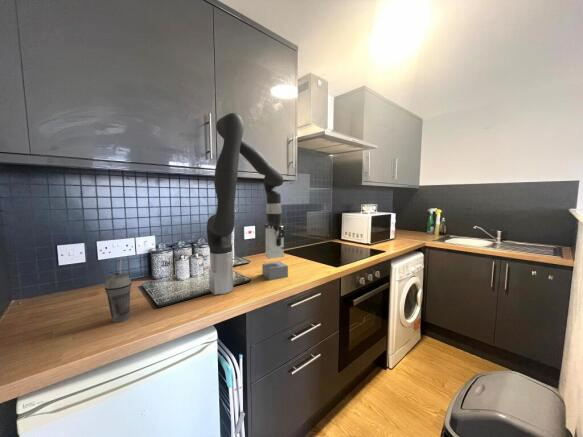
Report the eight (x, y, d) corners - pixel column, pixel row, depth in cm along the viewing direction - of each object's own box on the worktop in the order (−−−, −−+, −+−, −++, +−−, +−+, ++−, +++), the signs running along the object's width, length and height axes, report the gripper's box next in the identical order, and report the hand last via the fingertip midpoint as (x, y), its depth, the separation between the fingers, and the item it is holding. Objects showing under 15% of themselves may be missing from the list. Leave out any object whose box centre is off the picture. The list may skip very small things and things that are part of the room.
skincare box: (268, 259, 116) (268, 229, 114) (265, 256, 121) (264, 228, 120) (284, 257, 119) (284, 228, 118) (280, 254, 125) (279, 227, 123)
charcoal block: (269, 280, 114) (269, 268, 114) (262, 274, 123) (262, 263, 123) (287, 277, 119) (287, 265, 119) (279, 271, 128) (279, 261, 127)
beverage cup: (105, 319, 78) (101, 260, 76) (131, 311, 83) (127, 256, 82) (108, 327, 73) (103, 264, 71) (136, 318, 78) (132, 260, 76)
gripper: (260, 212, 121) (260, 243, 123) (276, 213, 110) (276, 248, 112) (271, 211, 126) (272, 242, 128) (288, 212, 115) (289, 246, 117)
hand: (274, 244), depth 120 cm, fingers closed on skincare box, 6 cm apart
